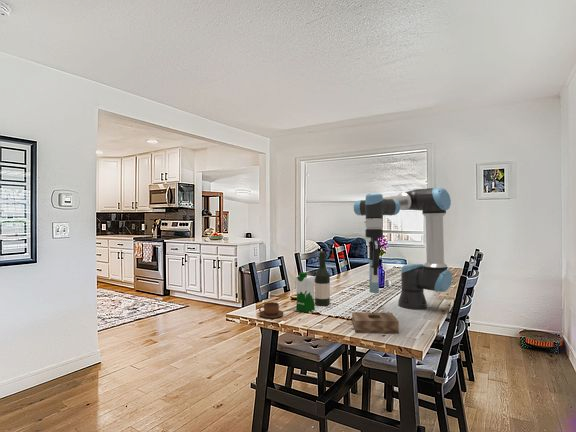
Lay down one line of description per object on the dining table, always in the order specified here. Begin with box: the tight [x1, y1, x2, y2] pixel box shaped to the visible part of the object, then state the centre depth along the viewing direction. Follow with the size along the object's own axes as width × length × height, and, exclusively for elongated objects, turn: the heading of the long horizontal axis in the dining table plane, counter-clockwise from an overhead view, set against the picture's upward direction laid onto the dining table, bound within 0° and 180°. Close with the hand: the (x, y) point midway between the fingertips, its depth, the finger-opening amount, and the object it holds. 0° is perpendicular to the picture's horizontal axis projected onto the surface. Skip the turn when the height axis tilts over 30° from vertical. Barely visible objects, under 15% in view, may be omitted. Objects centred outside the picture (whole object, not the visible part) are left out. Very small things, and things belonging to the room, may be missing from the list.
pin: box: [368, 259, 380, 294], centre depth 163 cm, size 4×4×14 cm
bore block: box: [351, 311, 400, 334], centre depth 163 cm, size 18×14×5 cm
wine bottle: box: [314, 250, 331, 307], centre depth 207 cm, size 8×8×30 cm
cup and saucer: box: [258, 302, 284, 319], centre depth 183 cm, size 12×12×6 cm
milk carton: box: [294, 271, 316, 314], centre depth 194 cm, size 9×9×20 cm
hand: (374, 281), depth 163 cm, fingers closed on pin, 4 cm apart
